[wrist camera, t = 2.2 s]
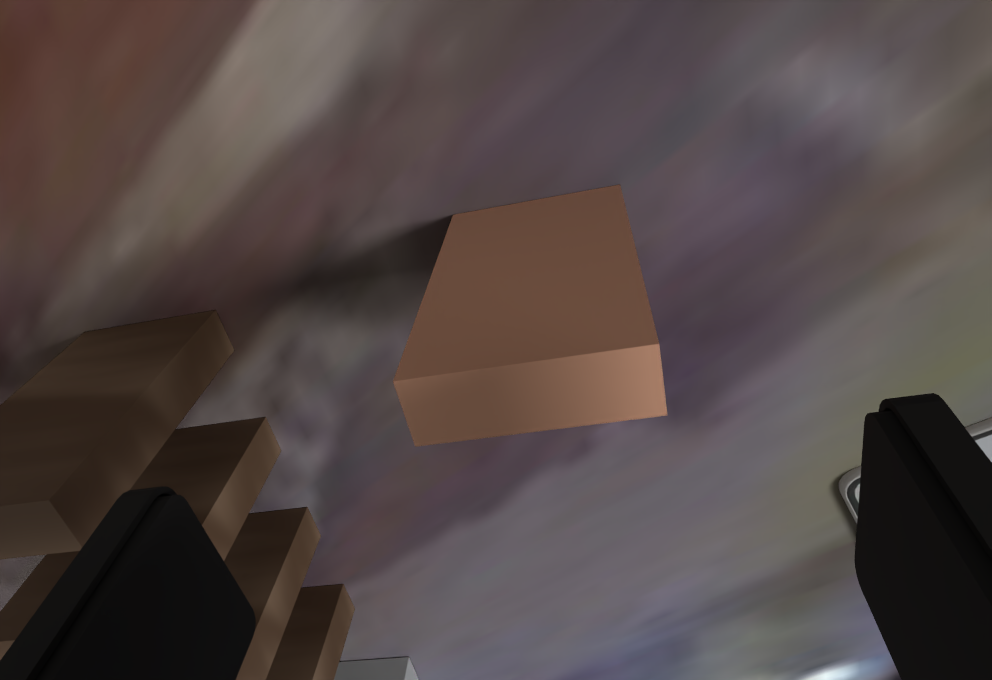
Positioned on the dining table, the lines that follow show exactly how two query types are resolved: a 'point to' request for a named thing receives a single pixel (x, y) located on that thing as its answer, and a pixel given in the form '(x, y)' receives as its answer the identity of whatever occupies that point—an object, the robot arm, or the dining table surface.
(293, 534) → the domino
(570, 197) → the domino
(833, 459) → the dining table surface
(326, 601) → the domino
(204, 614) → the robot arm
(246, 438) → the domino
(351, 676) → the block
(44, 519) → the domino
